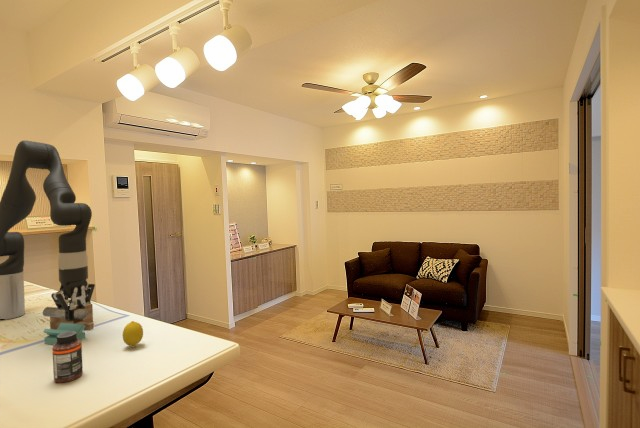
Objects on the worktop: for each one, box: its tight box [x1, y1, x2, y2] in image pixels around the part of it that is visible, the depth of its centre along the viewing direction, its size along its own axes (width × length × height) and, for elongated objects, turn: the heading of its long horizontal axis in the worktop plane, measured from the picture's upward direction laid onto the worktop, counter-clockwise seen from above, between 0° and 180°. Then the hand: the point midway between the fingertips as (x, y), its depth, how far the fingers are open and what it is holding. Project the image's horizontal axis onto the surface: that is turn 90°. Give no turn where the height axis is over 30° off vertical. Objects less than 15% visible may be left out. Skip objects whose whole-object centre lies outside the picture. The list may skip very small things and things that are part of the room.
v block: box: [42, 323, 86, 346], centre depth 109 cm, size 9×7×5 cm
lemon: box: [122, 320, 144, 348], centre depth 104 cm, size 6×6×8 cm
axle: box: [42, 306, 88, 319], centre depth 108 cm, size 14×3×3 cm, turn 79°
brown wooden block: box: [49, 303, 95, 331], centre depth 120 cm, size 10×12×7 cm
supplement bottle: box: [52, 331, 84, 383], centre depth 86 cm, size 6×6×11 cm
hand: (75, 319), depth 108 cm, fingers closed on axle, 3 cm apart
